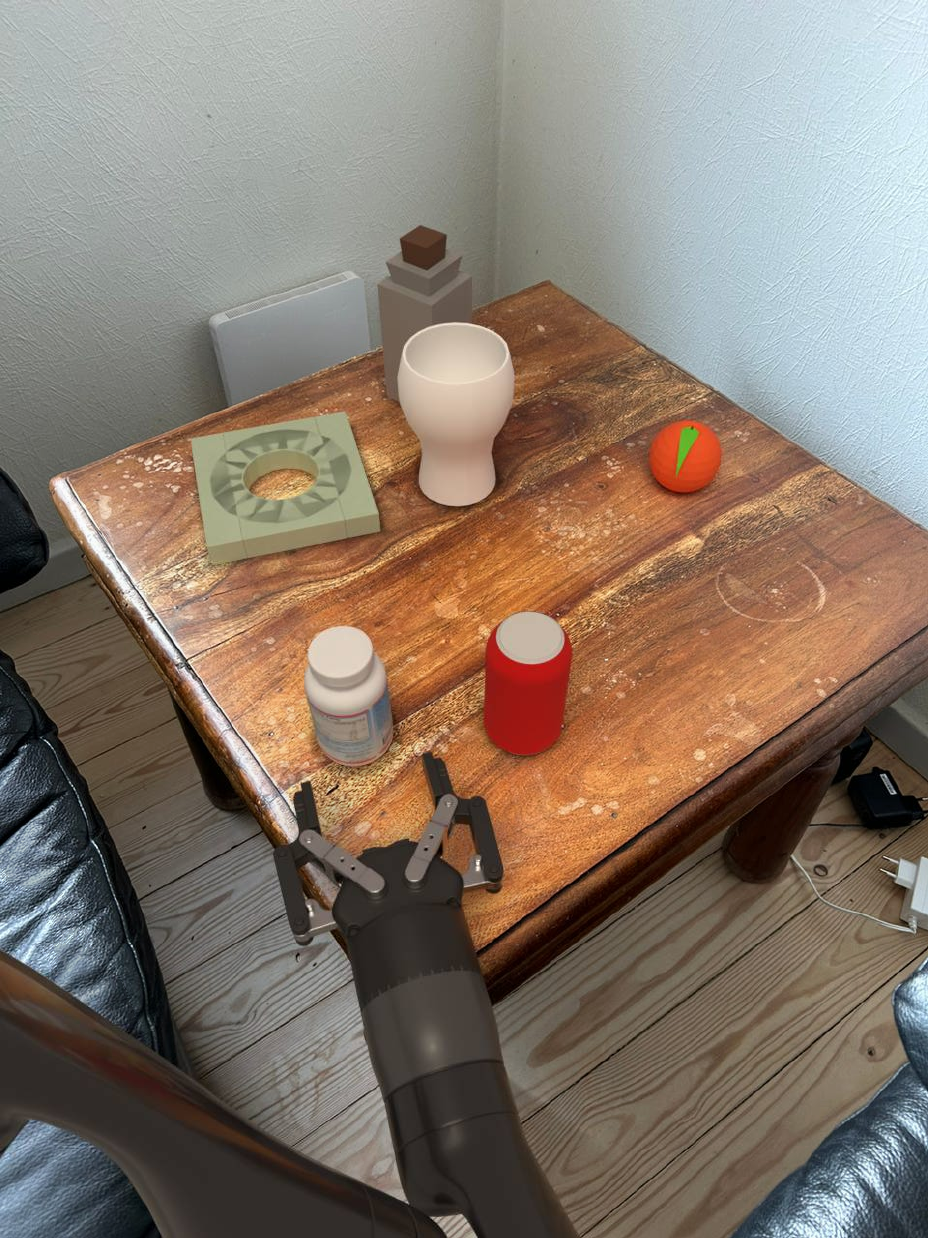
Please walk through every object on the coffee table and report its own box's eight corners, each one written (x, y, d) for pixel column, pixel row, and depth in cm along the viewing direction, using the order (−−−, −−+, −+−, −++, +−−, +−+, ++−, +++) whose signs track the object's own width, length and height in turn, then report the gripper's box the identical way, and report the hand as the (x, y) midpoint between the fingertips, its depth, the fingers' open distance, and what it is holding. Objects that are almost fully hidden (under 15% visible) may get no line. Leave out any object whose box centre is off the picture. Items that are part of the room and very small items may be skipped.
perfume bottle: (423, 366, 105) (417, 212, 91) (471, 387, 103) (472, 232, 89) (386, 396, 102) (373, 240, 88) (435, 418, 99) (430, 261, 85)
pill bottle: (359, 692, 76) (345, 603, 67) (409, 737, 73) (401, 650, 65) (301, 736, 73) (279, 649, 65) (351, 784, 71) (334, 700, 62)
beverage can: (570, 754, 72) (585, 661, 63) (493, 768, 71) (497, 677, 62) (549, 691, 76) (560, 596, 67) (476, 704, 75) (477, 609, 66)
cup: (506, 445, 96) (512, 317, 85) (513, 516, 89) (520, 387, 78) (405, 447, 96) (396, 319, 84) (403, 518, 89) (394, 389, 78)
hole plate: (212, 565, 85) (206, 546, 83) (195, 457, 95) (190, 438, 93) (380, 531, 88) (378, 512, 86) (347, 429, 98) (345, 410, 96)
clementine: (703, 521, 89) (718, 465, 83) (633, 503, 91) (644, 446, 85) (720, 470, 94) (736, 413, 88) (653, 454, 95) (665, 397, 90)
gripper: (543, 947, 53) (465, 719, 63) (295, 1019, 50) (255, 769, 60) (535, 990, 58) (464, 775, 68) (313, 1056, 56) (273, 823, 66)
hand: (367, 772), depth 64 cm, fingers open, 8 cm apart
